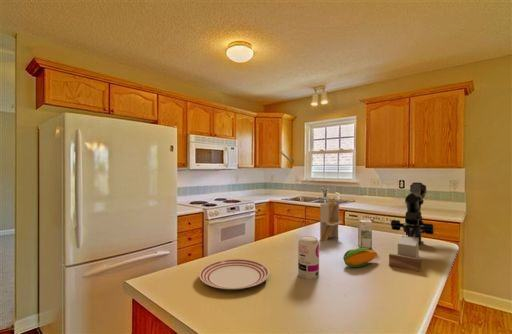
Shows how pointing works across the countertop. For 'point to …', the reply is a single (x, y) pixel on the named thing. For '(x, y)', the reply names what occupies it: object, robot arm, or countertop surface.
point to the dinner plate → (234, 274)
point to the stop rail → (405, 262)
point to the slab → (408, 246)
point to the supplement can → (308, 257)
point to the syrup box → (364, 233)
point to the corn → (359, 257)
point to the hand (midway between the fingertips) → (410, 241)
